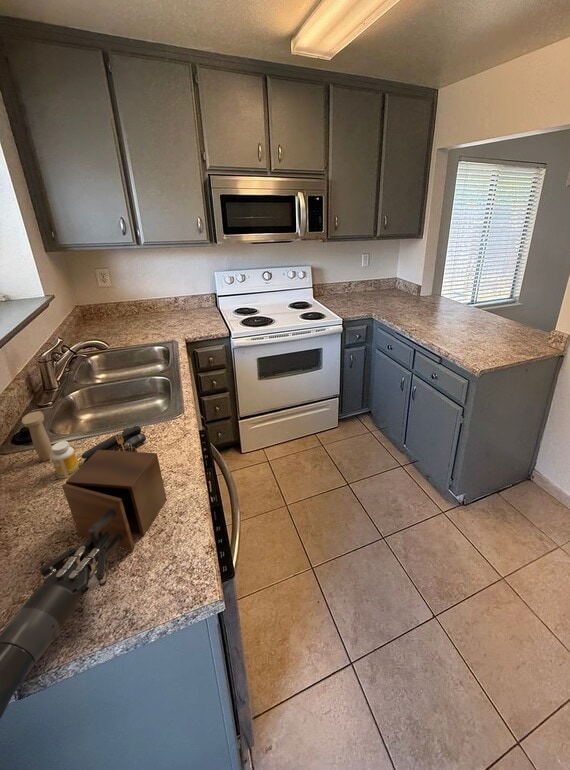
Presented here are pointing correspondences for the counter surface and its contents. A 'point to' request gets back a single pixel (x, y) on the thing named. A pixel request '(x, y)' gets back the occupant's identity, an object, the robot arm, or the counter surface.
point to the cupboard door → (99, 517)
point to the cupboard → (126, 483)
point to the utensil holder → (129, 449)
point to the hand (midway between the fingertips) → (104, 534)
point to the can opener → (128, 435)
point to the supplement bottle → (64, 459)
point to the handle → (38, 434)
